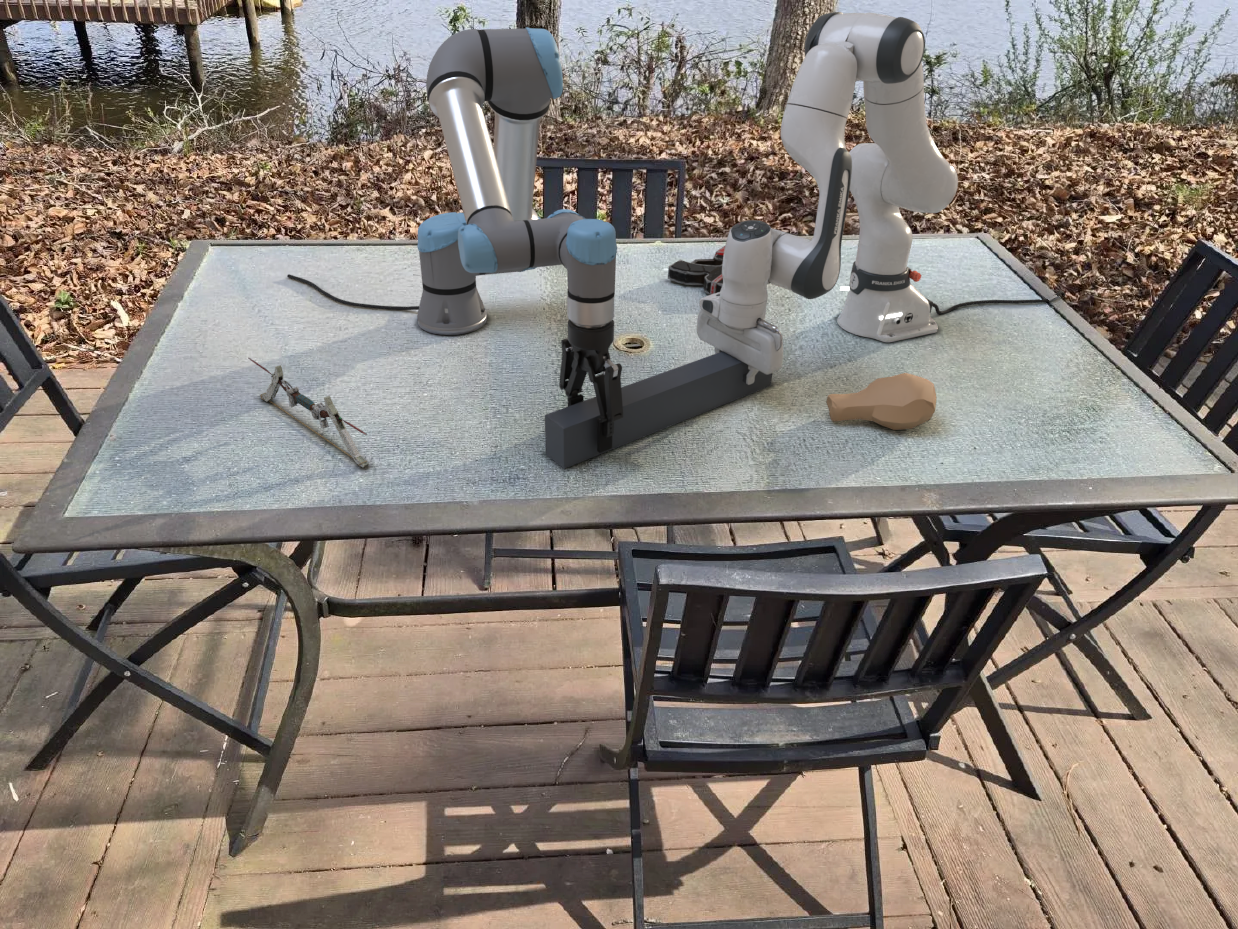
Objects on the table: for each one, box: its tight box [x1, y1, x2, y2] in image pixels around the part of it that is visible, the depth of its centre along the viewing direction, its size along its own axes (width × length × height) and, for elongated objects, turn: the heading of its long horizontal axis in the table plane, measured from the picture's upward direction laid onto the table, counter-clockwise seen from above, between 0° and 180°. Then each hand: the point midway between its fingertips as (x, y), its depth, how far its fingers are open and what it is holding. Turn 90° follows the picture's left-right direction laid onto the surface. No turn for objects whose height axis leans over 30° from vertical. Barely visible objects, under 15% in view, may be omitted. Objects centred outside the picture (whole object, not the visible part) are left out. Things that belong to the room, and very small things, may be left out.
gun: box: [667, 245, 725, 295], centre depth 224 cm, size 4×31×19 cm
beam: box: [544, 351, 773, 470], centre depth 162 cm, size 51×6×8 cm, turn 128°
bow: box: [247, 356, 370, 468], centre depth 154 cm, size 39×2×10 cm, turn 47°
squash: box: [825, 372, 938, 431], centre depth 163 cm, size 11×20×9 cm, turn 90°
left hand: (590, 438), depth 154 cm, fingers open, 8 cm apart
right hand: (735, 375), depth 172 cm, fingers closed on beam, 6 cm apart
